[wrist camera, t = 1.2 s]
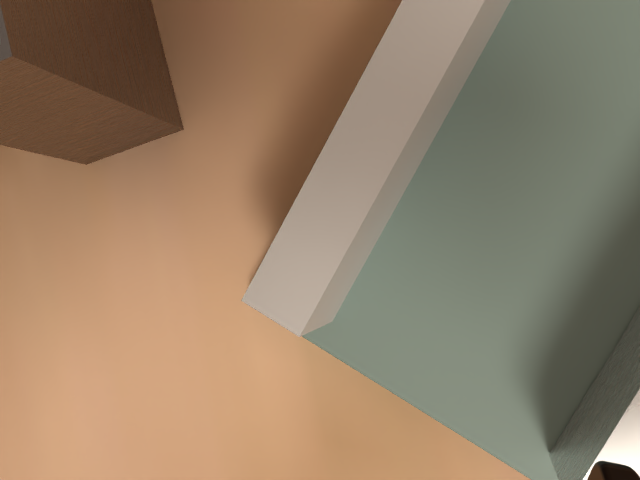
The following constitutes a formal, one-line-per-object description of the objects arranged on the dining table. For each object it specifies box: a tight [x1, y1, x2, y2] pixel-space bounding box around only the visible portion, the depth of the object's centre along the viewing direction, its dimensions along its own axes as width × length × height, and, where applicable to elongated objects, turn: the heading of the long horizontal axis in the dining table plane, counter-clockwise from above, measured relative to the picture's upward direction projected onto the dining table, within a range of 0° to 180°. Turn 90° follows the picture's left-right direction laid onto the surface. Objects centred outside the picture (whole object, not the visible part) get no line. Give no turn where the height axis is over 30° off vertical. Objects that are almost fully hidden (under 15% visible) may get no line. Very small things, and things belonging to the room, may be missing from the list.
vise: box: [241, 0, 640, 480], centre depth 18 cm, size 15×14×5 cm
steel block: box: [0, 0, 184, 164], centre depth 20 cm, size 4×7×9 cm, turn 15°
